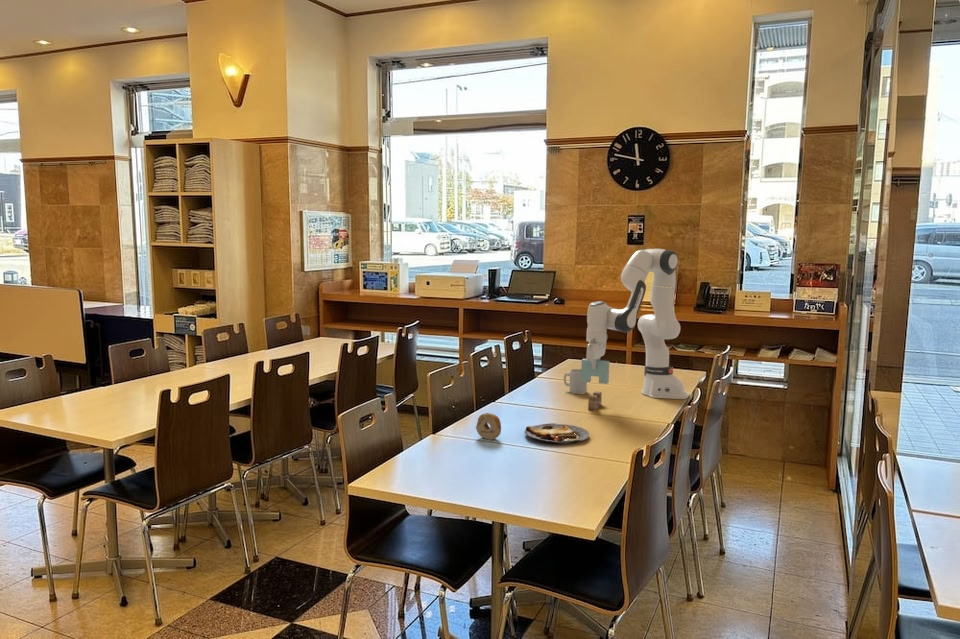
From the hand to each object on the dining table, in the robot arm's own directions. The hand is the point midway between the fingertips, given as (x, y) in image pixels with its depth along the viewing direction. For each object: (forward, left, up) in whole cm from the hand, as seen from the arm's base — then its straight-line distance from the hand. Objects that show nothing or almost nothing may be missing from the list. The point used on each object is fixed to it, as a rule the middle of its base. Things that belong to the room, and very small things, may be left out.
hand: (595, 367), depth 313 cm
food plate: (+2, +51, -19) cm, 54 cm away
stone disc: (+25, +64, -19) cm, 71 cm away
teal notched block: (0, 0, -7) cm, 7 cm away
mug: (+17, -26, -19) cm, 36 cm away
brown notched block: (0, 0, -18) cm, 18 cm away
